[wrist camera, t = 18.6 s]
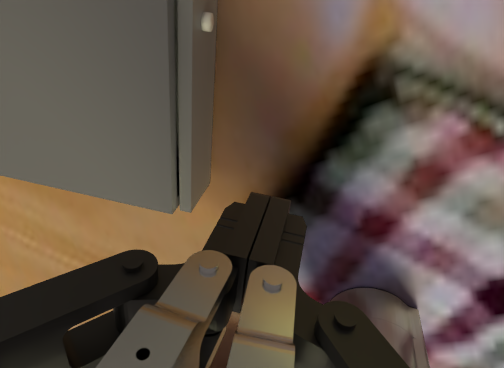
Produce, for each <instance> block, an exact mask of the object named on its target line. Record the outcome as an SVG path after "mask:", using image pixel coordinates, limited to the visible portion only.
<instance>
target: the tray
mask: <svg viewBox="0 0 504 368" xmlns="http://www.w3.org/2000/svg"><path fill="white" fill-rule="evenodd" d="M217 7H218V0H174V37H175V101H176V164H177V172H179V190H180V210H181V211H185V212H190V213H191V212H192V210H193V209H194V207H195V205H196V204H197V202H198V201H199V199H200V198H201V196H202V195H203V193H204V192H205V190H206V188H207V187H208V185H209V184H210V173H211V150H212V126H213V102H214V79H215V55H216V31H217Z"/></svg>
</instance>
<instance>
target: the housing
mask: <svg viewBox="0 0 504 368" xmlns="http://www.w3.org/2000/svg"><path fill="white" fill-rule="evenodd" d="M0 175H1V176H5V177H10V178H14V179H19V180H23V181H27V182H32V183H36V184H41V185H45V186H50V187H54V188H58V189H63V190H67V191H72V192H76V193H80V194H85V195H89V196H94V197H98V198H103V199H107V200H111V201H116V202H120V203H125V204H129V205H134V206H138V207H142V208H147V209H151V210H156V211H160V212H164V213H169V214H173V213H174V211H175V210H176V209H177V207H178V206H179V204H180V190H179V172H177V164H176V101H175V37H174V0H0Z"/></svg>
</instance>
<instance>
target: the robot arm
mask: <svg viewBox="0 0 504 368" xmlns="http://www.w3.org/2000/svg"><path fill="white" fill-rule="evenodd" d="M290 205H291V200H287V199H282V198H278V197H273V196H272V197H271V196H268V195H263V194H259V193H254V192H251V193H250V196H249V198H248V200H247V202H246V204H242V203H237V202H234V203H232V204H231V205H229V206H228V207H226V208H225V210H224V211H223V213H222V215H221V217H220V219H219V221H218V222H217V225H216V226H215V228H214V230H213V232H212V233H211V235H210V237H209V239H208V241H207V243H206V244H205V246H204V248H203V250H202V251H199V252H197V253H194V254H193V255H191V256H190V257H189V258H188V259H187V261H186V262H185V263H183V264H175V265H158V261H157V259H156V257H155V256H154V255H153V254H152V253H150V252H148V251H144V250H129V251H125V252H122V253H119V254H117V255H114V256H111V257H109V258H106V259H103V260H100V261H98V262H95V263H92V264H90V265H87V266H84V267H81V268H79V269H76V270H73V271H70V272H68V273H65V274H62V275H60V276H57V277H54V278H51V279H49V280H46V281H43V282H40V283H38V284H35V285H32V286H30V287H27V288H24V289H21V290H19V291H16V292H13V293H11V294H8V295H5V296H2V297H0V368H209V367H210V365H211V363H212V360H213V358H214V356H215V354H216V352H217V349H218V347H219V345H220V343H221V341H222V338H223V336H224V334H225V331H226V325H227V323H228V321H229V318H230V316H231V313H232V311H234V312H237V313H240V311H241V308H242V311H241V315H240V320H239V324H238V328H237V331H236V332H235V335H234V338H233V342H232V347H231V351H230V355H229V359H228V364H227V368H430V366H429V361H428V356H427V351H426V346H425V341H424V336H423V331H422V326H421V321H420V316H419V311H418V310H417V309H414V308H411V307H408V306H407V305H406V304H405V303H404V302H403V301H402V300H400V299H399V298H398V297H396V296H394V295H393V294H390V293H388V292H386V291H382V290H378V289H373V288H355V289H351V290H347V291H344V292H342V293H340V294H338V295H337V296H335V297H334V298H333V299H332V300H331V301H330V302H328V303H326V304H324V305H322V304H321V303H319V302H317V301H315V300H313V299H312V298H310V297H309V296H308V295H307V294H306V293H305V292H304V291H303V290H302V289H301V287H300V285H299V282H298V273H299V267H300V261H301V256H302V250H303V244H304V239H305V233H306V228H307V226H306V224H305V221H304V219H303V217H301V216H297V215H292V214H289V210H290ZM242 305H243V307H242ZM112 308H113V311H111V312H109V313H107V314H104V315H102V316H100V317H98V318H96V319H93V320H91V321H89V322H87V323H85V324H82V325H80V326H78V327H76V328H74V329H71V330H69V329H70V328H71V327H73V326H75V325H77V324H79V323H81V322H84V321H86V320H88V319H90V318H92V317H95V316H97V315H99V314H101V313H104V312H106V311H108V310H110V309H112ZM68 330H69V331H68Z"/></svg>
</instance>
